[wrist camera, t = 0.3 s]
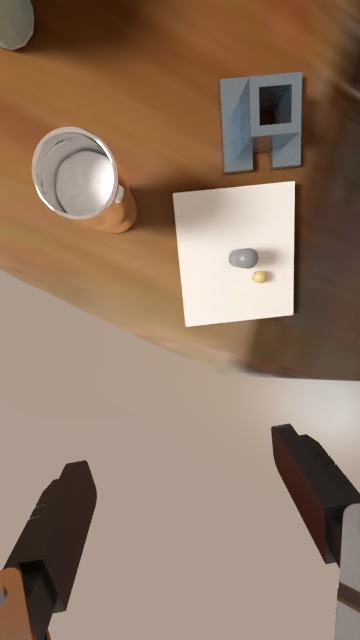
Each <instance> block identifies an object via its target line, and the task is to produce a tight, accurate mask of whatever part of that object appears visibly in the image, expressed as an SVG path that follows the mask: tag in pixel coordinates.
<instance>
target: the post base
mask: <svg viewBox="0 0 360 640" xmlns="http://www.w3.org/2000/svg"><path fill="white" fill-rule="evenodd" d="M173 205H174V215H175V225H176V235H177V246H178V256H179V266H180V276H181V286H182V296H183V306H184V316H185V325H186V327H188V326H197V325H206V324H215V323H224V322H233V321H242V320H251V319H260V318H269V317H278V316H287V315H293V292H294V207H295V181H292V182H282V183H271V184H261V185H251V186H241V187H231V188H221V189H211V190H200V191H190V192H180V193H173Z"/></svg>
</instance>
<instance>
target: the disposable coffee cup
mask: <svg viewBox="0 0 360 640" xmlns="http://www.w3.org/2000/svg"><path fill="white" fill-rule="evenodd" d="M33 28H34V14H33V7H32V4H31V1H30V0H0V47H2V48H5V49H9V50H12V51H13V50H15V49H18V48H21V47H23V46H25V45H26V44H27V42H28V41H29V39H30V37H31V36H32V34H33Z"/></svg>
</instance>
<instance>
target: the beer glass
mask: <svg viewBox="0 0 360 640" xmlns="http://www.w3.org/2000/svg"><path fill="white" fill-rule="evenodd" d="M32 177H33V181H34V185H35V187H36V190H37V192H38V194H39V196H40V197H41V199H42V200H43V201H44V203H45V204H46V205H47V206H48V207H49V208H50V209H51V210H53V211H54V212H56V213H57V214H59V215H61V216H63V217H64V218H66V219H68V220H70V221H71V222H73V223H75V224H78V225H80V226H82V227H86V228H90V229H103V230H105V231H107V232H110V233H122V232H124V231H126V230H128V229H129V228H130V227H131V226H132V225H133V223H134V222H135V219H136V216H137V206H136V202H135V200H134V198H133V196H132V195H131V193H130V188H129V183H128V180H127V178H126V175H125V173H124V171H123V169H122V167H121V165H120V164H119V162H118V161H117V159H116V158H115V157H114V155H113V154H112V153H111V151H110V150H109V148H108V147H107V146H106V144H105V143H104V142H103V141H102V140H101V139H100V138H99V137H97V136H96V135H95V134H93V133H92V132H90V131H88V130H85V129H83V128H79V127H71V126H68V127H61V128H58V129H55V130H53V131H51V132H50V133H48V134H47V135H46V136H44V137H43V138H42V140H41V141H40V142H39V144H38V145H37V147H36V149H35V152H34V155H33V159H32Z"/></svg>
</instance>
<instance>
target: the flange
mask: <svg viewBox="0 0 360 640" xmlns="http://www.w3.org/2000/svg"><path fill="white" fill-rule="evenodd" d="M218 86H219V105H220V124H221V143H222V163H223V174H233V173H244V172H251V171H252V170H253V153H258V152H269V155H270V170H275V169H285V168H295V167H298V166H299V165H301V113H302V72H297V73H286V74H274V75H263V76H252V77H241V78H230V79H220V81H219V85H218ZM270 110H273V124H272V125H262V126H260V120H259V111H270Z"/></svg>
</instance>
